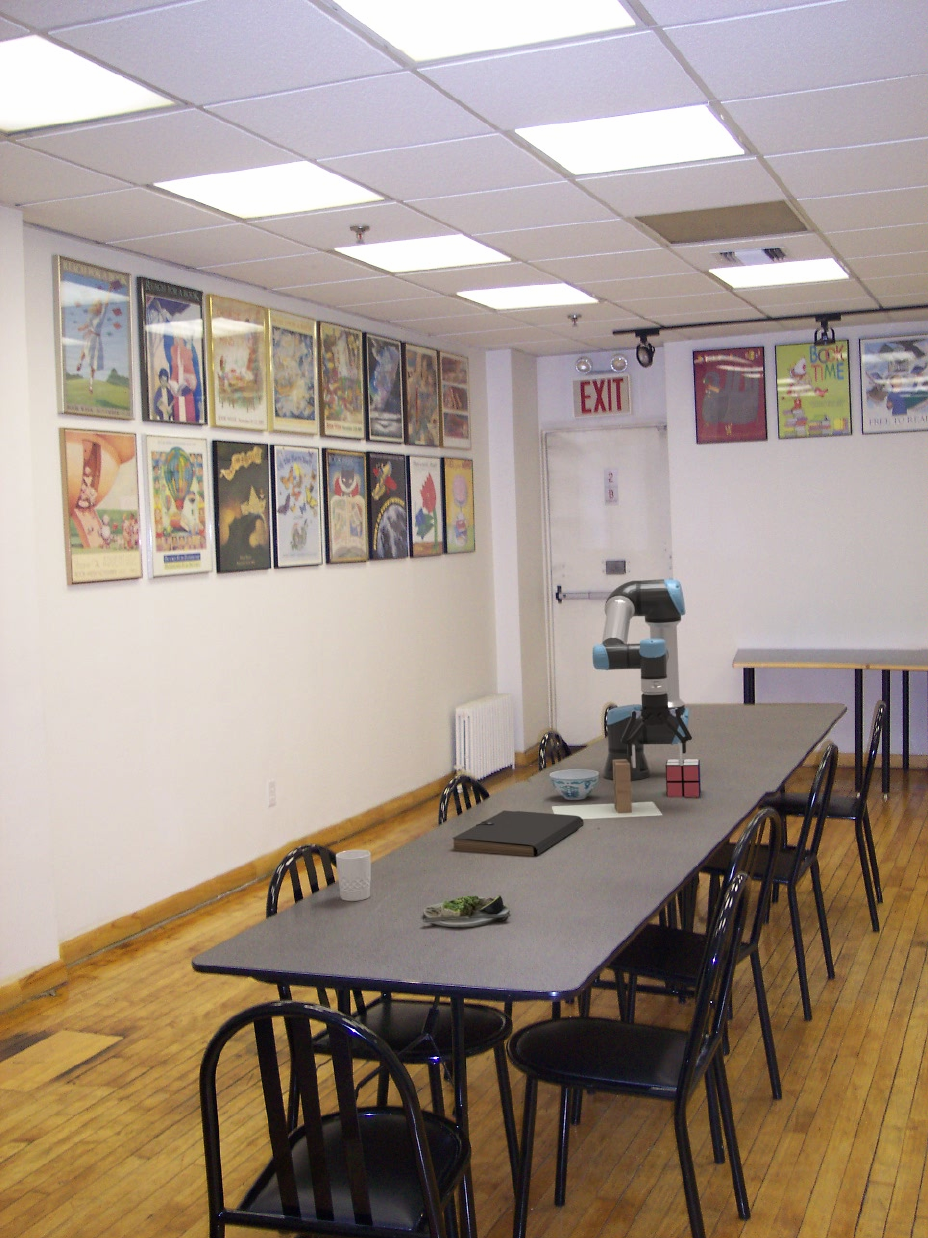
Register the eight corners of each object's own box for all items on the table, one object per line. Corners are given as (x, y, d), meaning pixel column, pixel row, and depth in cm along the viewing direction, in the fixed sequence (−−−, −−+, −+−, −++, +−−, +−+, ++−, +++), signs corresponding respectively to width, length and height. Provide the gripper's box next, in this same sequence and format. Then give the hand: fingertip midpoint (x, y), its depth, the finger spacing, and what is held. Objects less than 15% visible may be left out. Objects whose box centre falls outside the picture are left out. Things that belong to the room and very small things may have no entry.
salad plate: (440, 939, 249) (439, 917, 249) (403, 917, 265) (402, 896, 264) (522, 921, 258) (521, 900, 258) (481, 901, 274) (480, 881, 273)
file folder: (503, 809, 348) (583, 815, 337) (503, 823, 348) (583, 829, 338) (451, 836, 318) (537, 844, 308) (452, 852, 319) (537, 860, 308)
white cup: (338, 893, 284) (336, 851, 283) (372, 891, 285) (370, 848, 284) (337, 903, 276) (335, 859, 275) (372, 900, 277) (370, 857, 276)
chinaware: (609, 797, 374) (608, 772, 374) (579, 806, 363) (578, 780, 363) (571, 791, 385) (570, 767, 384) (540, 800, 374) (539, 775, 373)
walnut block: (614, 807, 358) (612, 759, 357) (628, 806, 358) (626, 759, 357) (617, 813, 350) (616, 764, 349) (631, 812, 350) (630, 764, 349)
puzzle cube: (700, 798, 367) (699, 765, 366) (666, 798, 369) (665, 765, 368) (700, 791, 377) (699, 759, 376) (667, 791, 379) (666, 759, 378)
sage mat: (551, 807, 363) (551, 806, 363) (652, 803, 363) (652, 801, 363) (556, 821, 345) (556, 820, 345) (662, 816, 345) (662, 815, 345)
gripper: (612, 696, 348) (615, 770, 349) (700, 692, 348) (703, 766, 350) (609, 693, 356) (612, 765, 357) (695, 689, 356) (697, 761, 357)
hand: (657, 766), depth 353 cm, fingers open, 13 cm apart
